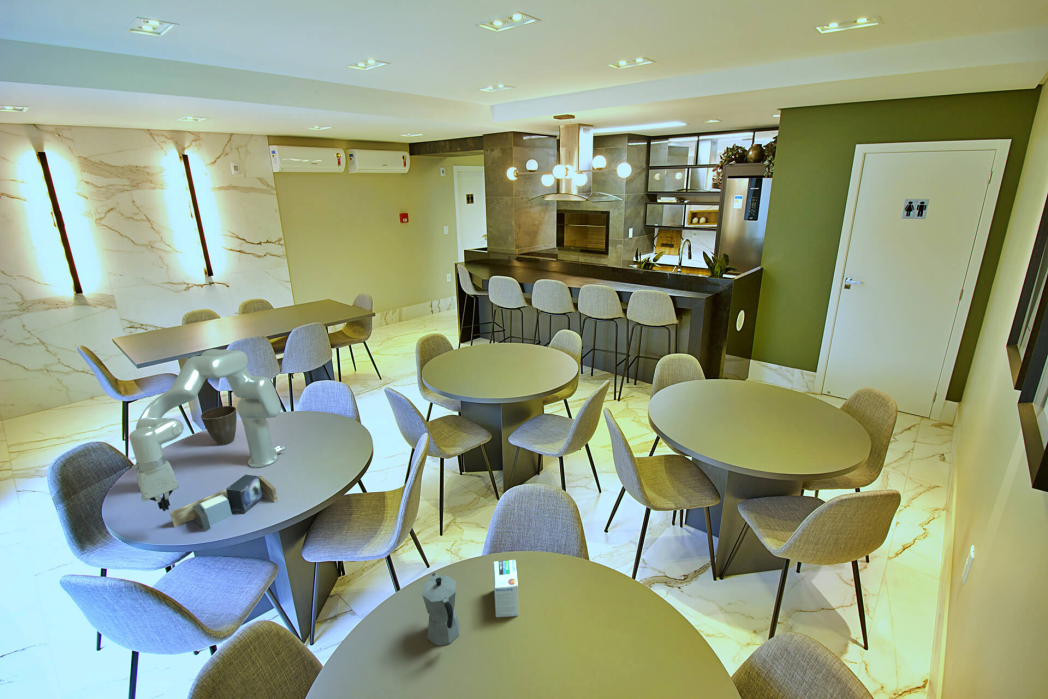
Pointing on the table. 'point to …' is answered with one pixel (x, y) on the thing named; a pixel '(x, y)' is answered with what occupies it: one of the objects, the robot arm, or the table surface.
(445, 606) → the coffeepot
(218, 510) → the pale grey block
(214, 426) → the plant pot
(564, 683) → the table surface
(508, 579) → the light bulb box
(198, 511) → the bookend
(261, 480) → the curved wooden plank
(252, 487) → the small box
